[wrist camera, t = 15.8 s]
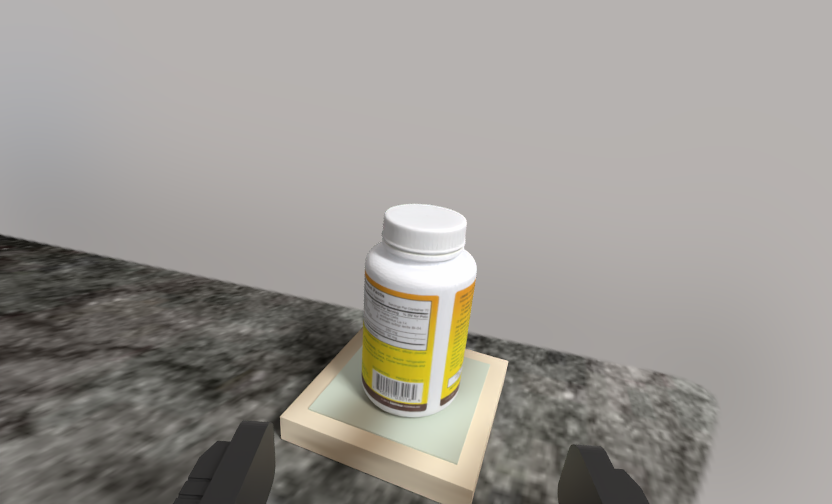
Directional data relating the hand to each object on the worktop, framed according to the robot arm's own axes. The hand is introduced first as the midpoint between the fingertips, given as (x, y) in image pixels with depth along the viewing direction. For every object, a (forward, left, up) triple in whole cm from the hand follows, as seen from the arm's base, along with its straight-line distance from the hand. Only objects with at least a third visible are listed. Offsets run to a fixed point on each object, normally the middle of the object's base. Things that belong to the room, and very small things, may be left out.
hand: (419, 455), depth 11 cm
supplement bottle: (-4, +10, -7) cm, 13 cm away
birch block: (-4, +10, -8) cm, 14 cm away
